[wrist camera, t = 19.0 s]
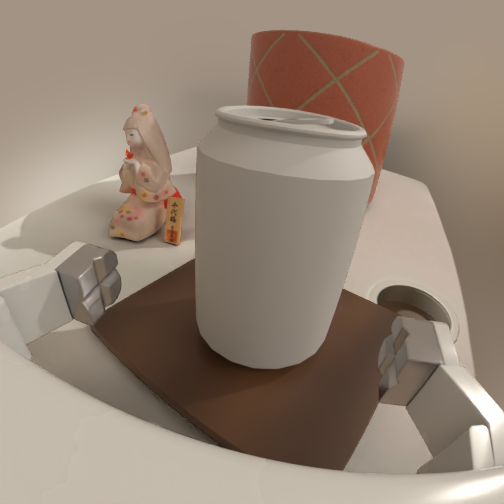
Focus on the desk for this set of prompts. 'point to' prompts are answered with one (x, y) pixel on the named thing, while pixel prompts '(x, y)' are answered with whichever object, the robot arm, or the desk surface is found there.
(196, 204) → the can
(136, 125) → the figurine
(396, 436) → the desk surface
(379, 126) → the planter
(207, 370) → the board
